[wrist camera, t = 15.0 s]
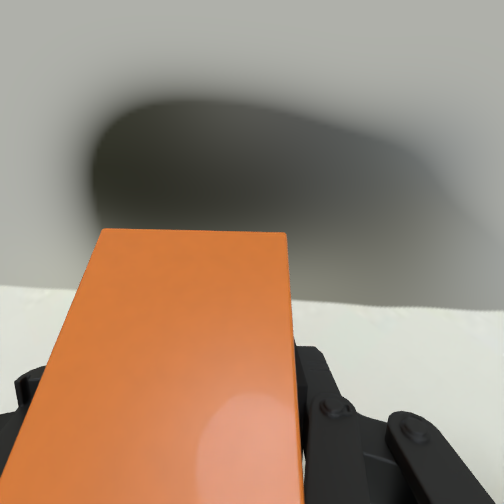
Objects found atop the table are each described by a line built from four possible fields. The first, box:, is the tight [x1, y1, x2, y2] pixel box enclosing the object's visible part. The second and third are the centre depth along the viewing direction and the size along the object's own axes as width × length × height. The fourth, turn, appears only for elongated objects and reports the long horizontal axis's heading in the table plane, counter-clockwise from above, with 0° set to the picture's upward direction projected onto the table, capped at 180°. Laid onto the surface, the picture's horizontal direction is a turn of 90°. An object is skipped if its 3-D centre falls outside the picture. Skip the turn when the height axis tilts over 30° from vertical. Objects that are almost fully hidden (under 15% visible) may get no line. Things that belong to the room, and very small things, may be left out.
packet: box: [0, 228, 305, 504], centre depth 10 cm, size 5×7×12 cm
